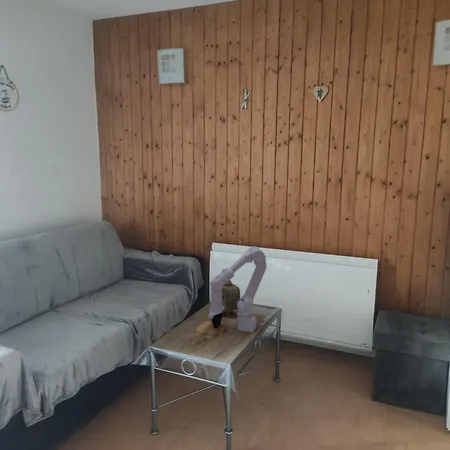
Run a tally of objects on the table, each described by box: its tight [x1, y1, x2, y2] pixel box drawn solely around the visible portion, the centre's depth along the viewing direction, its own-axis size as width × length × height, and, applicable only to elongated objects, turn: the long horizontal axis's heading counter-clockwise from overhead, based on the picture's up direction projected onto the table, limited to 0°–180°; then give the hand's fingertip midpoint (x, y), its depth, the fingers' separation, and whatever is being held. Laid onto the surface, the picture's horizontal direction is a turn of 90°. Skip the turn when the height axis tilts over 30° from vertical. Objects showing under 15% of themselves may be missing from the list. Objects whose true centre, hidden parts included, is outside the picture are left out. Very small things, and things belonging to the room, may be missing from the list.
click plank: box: [195, 320, 228, 336], centre depth 223 cm, size 14×8×1 cm, turn 66°
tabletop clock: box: [222, 279, 241, 319], centre depth 246 cm, size 14×9×25 cm, turn 25°
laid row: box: [190, 330, 221, 340], centre depth 217 cm, size 14×5×1 cm, turn 66°
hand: (216, 327), depth 222 cm, fingers closed
